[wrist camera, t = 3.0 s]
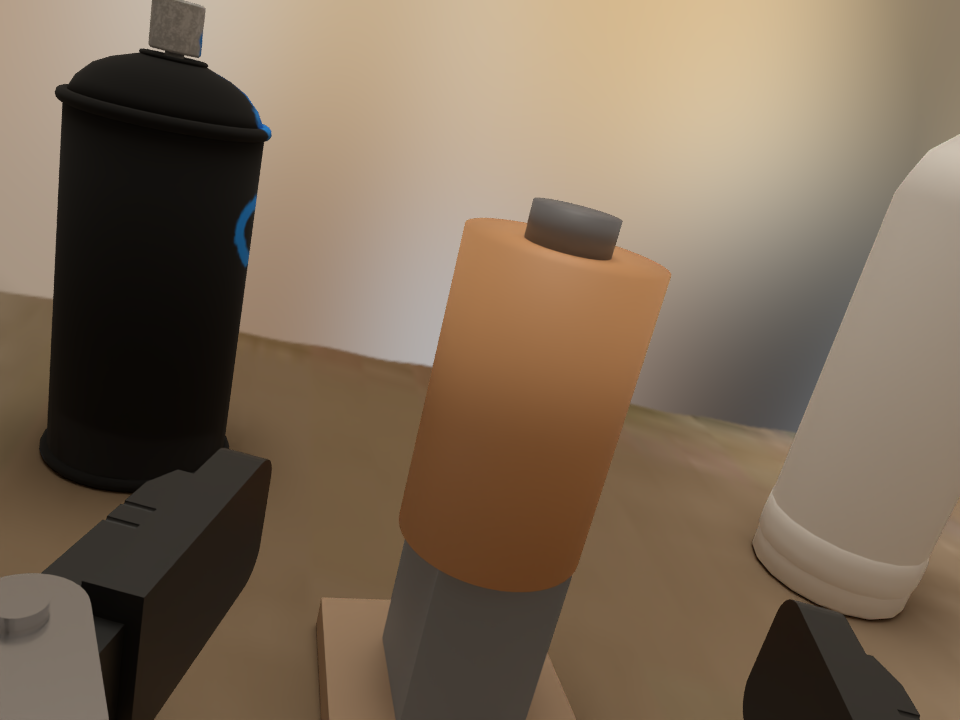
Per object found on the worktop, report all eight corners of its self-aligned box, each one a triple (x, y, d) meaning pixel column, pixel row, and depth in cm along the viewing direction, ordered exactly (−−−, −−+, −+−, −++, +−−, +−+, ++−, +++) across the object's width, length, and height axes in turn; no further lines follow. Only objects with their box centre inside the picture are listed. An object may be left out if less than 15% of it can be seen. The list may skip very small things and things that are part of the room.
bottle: (822, 627, 35) (1152, -85, 25) (720, 530, 42) (950, -61, 32) (938, 619, 38) (1270, -17, 29) (825, 530, 45) (1063, -9, 35)
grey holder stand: (326, 827, 20) (373, 618, 18) (316, 624, 28) (349, 456, 25) (592, 812, 23) (663, 626, 20) (519, 629, 30) (565, 476, 28)
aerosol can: (72, 510, 30) (105, -24, 24) (16, 421, 36) (31, -37, 29) (258, 474, 36) (324, 36, 30) (186, 402, 41) (230, 16, 35)
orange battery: (414, 587, 20) (505, 210, 16) (388, 477, 25) (454, 172, 21) (607, 595, 21) (725, 254, 18) (545, 491, 26) (628, 209, 23)
